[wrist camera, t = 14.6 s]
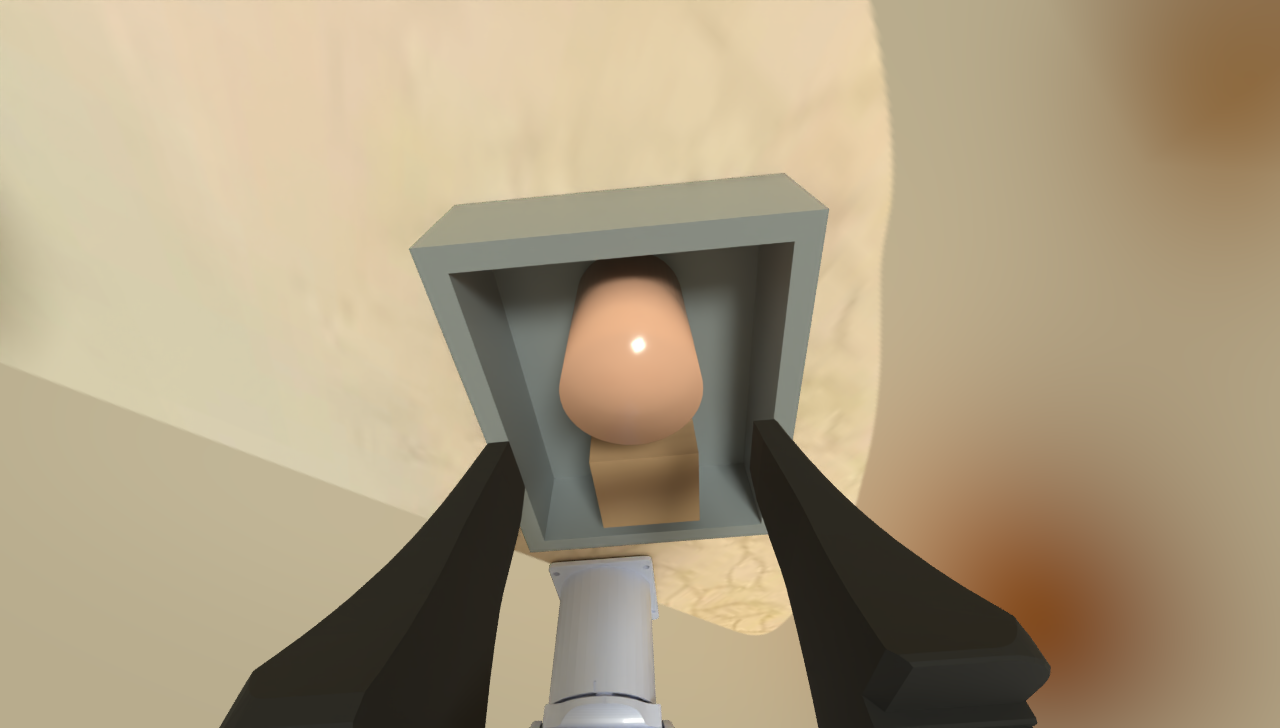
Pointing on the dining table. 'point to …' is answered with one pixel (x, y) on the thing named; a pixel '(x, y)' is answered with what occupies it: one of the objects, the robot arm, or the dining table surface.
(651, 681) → the robot arm
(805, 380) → the dining table surface
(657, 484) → the walnut cube
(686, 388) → the terracotta cylinder
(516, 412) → the box
